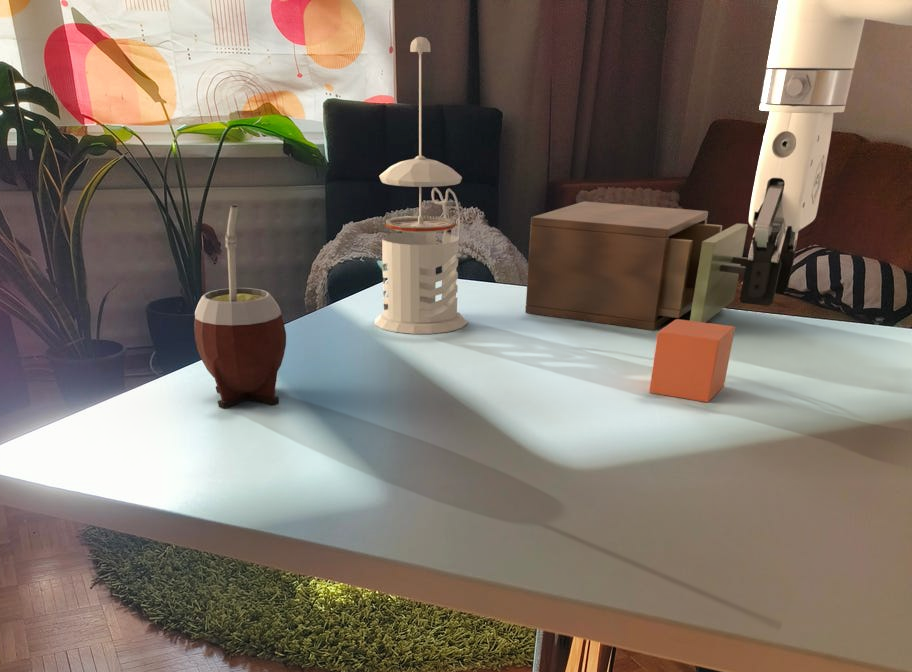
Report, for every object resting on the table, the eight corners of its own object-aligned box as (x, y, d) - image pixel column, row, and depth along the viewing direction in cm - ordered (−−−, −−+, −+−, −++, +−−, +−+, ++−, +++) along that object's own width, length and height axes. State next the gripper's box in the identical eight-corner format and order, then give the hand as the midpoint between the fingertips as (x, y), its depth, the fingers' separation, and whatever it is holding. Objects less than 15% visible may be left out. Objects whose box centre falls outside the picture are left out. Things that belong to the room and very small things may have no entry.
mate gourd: (243, 379, 77) (221, 185, 69) (316, 394, 74) (302, 192, 65) (181, 403, 72) (149, 196, 63) (256, 420, 68) (233, 204, 60)
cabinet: (693, 302, 102) (708, 211, 97) (653, 330, 92) (667, 229, 87) (575, 288, 109) (583, 201, 103) (525, 312, 98) (530, 217, 93)
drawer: (780, 305, 98) (796, 228, 93) (750, 332, 88) (767, 247, 84) (619, 286, 105) (627, 214, 101) (576, 309, 95) (583, 230, 91)
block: (724, 386, 76) (735, 326, 73) (708, 402, 72) (719, 340, 70) (667, 377, 78) (676, 318, 75) (648, 392, 75) (657, 331, 72)
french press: (355, 325, 93) (344, 35, 79) (413, 304, 101) (412, 38, 87) (437, 338, 88) (440, 34, 75) (490, 315, 97) (502, 38, 83)
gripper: (831, 96, 74) (783, 319, 84) (861, 91, 87) (816, 286, 97) (740, 94, 77) (704, 309, 87) (782, 90, 90) (746, 278, 100)
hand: (763, 295), depth 92 cm, fingers closed on drawer, 6 cm apart
